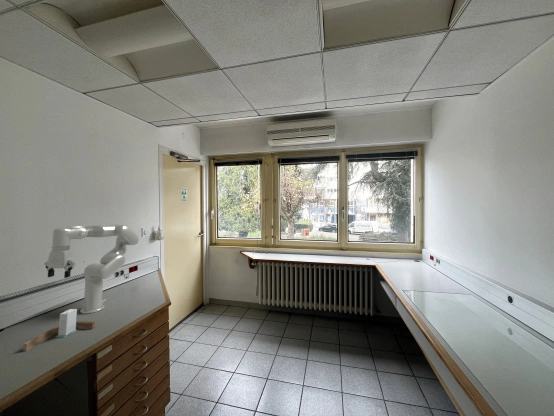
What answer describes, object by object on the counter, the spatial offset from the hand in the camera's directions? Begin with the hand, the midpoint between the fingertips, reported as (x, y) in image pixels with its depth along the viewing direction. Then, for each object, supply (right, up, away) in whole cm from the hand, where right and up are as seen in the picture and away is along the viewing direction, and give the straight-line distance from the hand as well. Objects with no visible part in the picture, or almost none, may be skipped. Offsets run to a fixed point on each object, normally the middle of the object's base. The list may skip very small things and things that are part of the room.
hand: (59, 276), depth 128 cm
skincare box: (+14, -29, -9) cm, 33 cm away
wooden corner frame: (+16, -29, -13) cm, 35 cm away
